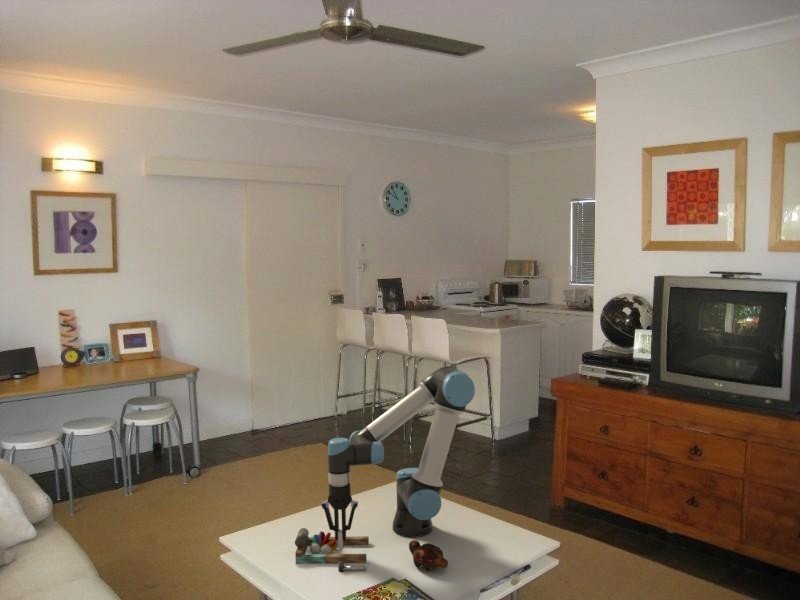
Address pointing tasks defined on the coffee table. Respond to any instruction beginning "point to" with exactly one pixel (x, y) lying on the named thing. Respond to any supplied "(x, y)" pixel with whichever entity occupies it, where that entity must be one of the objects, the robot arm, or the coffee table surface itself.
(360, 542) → the bay
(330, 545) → the rainbow sensory ball
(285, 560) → the coffee table surface
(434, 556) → the decorative turtle
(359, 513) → the coffee table surface
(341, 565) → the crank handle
